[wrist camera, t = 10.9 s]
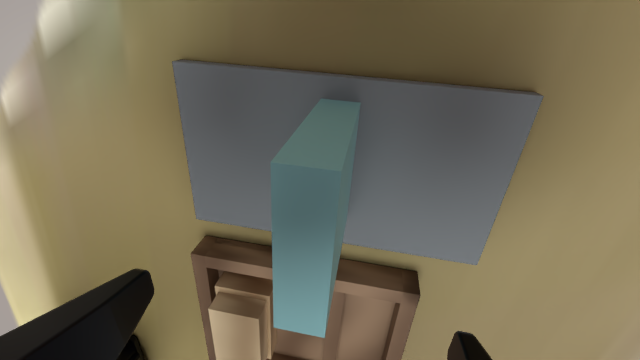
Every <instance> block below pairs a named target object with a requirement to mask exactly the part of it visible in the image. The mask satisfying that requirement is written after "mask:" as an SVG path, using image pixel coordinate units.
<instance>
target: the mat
mask: <svg viewBox="0 0 640 360" xmlns="http://www.w3.org/2000/svg"><path fill="white" fill-rule="evenodd" d="M172 64H173V70H174V77H175V83H176V90H177V96H178V103H179V109H180V116H181V122H182V129H183V135H184V142H185V148H186V155H187V161H188V168H189V174H190V181H191V187H192V194H193V200H194V207H195V213H196V219H199V220H206V221H212V222H218V223H224V224H230V225H236V226H242V227H248V228H254V229H260V230H266V231H272V218H271V165H270V162H271V161H272V160H273V158H274V157H275V156H276V155H277V153H278V152H279V151H280V149H281V148H282V147H283V146H284V144H285V143H286V142H287V141H288V139H289V138H290V137H291V136H292V134H293V133H294V132H295V131H296V129H297V128H298V127H299V126H300V124H301V123H302V122H303V121H304V119H305V118H306V117H307V116H308V114H309V113H310V112H311V111H312V109H313V108H314V107H315V106H316V104H317V103H318V102H319V101H320V99H330V100H340V101H350V102H360V103H361V104H360V113H359V121H358V130H357V138H356V146H355V155H354V163H353V171H352V180H351V188H350V197H349V205H348V213H347V221H346V226H345V231H344V237H343V242H342V243H345V244H351V245H357V246H363V247H369V248H375V249H381V250H387V251H394V252H400V253H406V254H412V255H418V256H424V257H430V258H436V259H442V260H448V261H454V262H460V263H466V264H472V265H477V264H478V261H479V259H480V256H481V254H482V251H483V249H484V246H485V244H486V241H487V238H488V236H489V233H490V231H491V228H492V226H493V223H494V221H495V218H496V216H497V213H498V211H499V208H500V206H501V203H502V200H503V198H504V195H505V193H506V190H507V188H508V185H509V183H510V180H511V178H512V175H513V173H514V170H515V168H516V165H517V162H518V160H519V157H520V155H521V152H522V150H523V147H524V145H525V142H526V140H527V137H528V135H529V132H530V130H531V127H532V124H533V122H534V119H535V117H536V114H537V112H538V109H539V107H540V104H541V102H542V99H543V97H544V96H542V95H540V94H538V93H536V92H525V91H515V90H504V89H493V88H482V87H472V86H461V85H450V84H439V83H428V82H418V81H407V80H396V79H385V78H374V77H364V76H353V75H342V74H331V73H321V72H310V71H299V70H288V69H277V68H267V67H256V66H245V65H234V64H224V63H213V62H202V61H191V60H176V61H172Z"/></svg>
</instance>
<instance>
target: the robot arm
mask: <svg viewBox="0 0 640 360" xmlns="http://www.w3.org/2000/svg"><path fill="white" fill-rule="evenodd" d="M153 295H154V286H153V283H152V279H151V275H150V273H149V271H147V270H142V269H133V270H130V271H128V272H126V273H124V274H123V275H121V276H119V277H117V278H115V279H113V280H111V281H109V282H107V283H105V284H103V285H101V286H99V287H97V288H95V289H93V290H91V291H89V292H87V293H85V294H83V295H81V296H79V297H77V298H75V299H73V300H71V301H69V302H67V303H65V304H63V305H61V306H59V307H57V308H55V309H53V310H51V311H49V312H47V313H45V314H43V315H41V316H39V317H37V318H35V319H33V320H32V321H30V322H28V323H26V324H24V325H22V326H20V327H18V328H16V329H14V330H12V331H10V332H8V333H6V334H4V335H2V336H0V360H144V358H143V355H142V352H141V349H140V346H139V343H138V340H137V338H136V337H135V336H133V335H132V333H133V331H134V330H135V328H136V326H137V324H138V322H139V321H140V319H141V317H142V315H143V314H144V312H145V310H146V308H147V306H148V305H149V303H150V301H151V299H152V297H153ZM447 359H448V360H492V359H491V357H490V356H489V355H488V353H487V352H486V350H485V349H484V348H483V346H482V345H481V344H480V342H479V341H478V340H477V338H476V337H475V336H474V335H473V334H471V333H467V332H462V331H457V332H456V333H455V334H454V337H453V339H452V342H451V344H450V346H449V349H448V355H447Z"/></svg>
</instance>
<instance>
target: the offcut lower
mask: <svg viewBox="0 0 640 360" xmlns="http://www.w3.org/2000/svg"><path fill="white" fill-rule="evenodd" d="M215 292H216V295H217V294H218V292H223V293H228V294H234V295H239V296H244V297H249V298H254V299H259V300H264V301H266V304H267V338H268V356H267V358H268V359H271V358H272V355H273V352H274V349H275V346H276V343H277V328H274V324H273V280H271V279H266V278H260V277H255V276H250V275H244V274H239V273H233V272H228V271H224V272H223V274H222V275H221V277H220V278H219V280H218V281H217V283H216V285H215Z"/></svg>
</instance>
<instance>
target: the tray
mask: <svg viewBox="0 0 640 360" xmlns="http://www.w3.org/2000/svg"><path fill="white" fill-rule="evenodd" d="M191 258H192V264H193V270H194V275H195V281H196V287H197V292H198V298H199V304H200V309H201V315H202V321H203V327H204V332H205V338H206V344H207V349H208V355H209V360H216V355H215V349H214V343H213V336H212V330H211V324H210V317H209V311H208V308H209V307H210V305H211V303H212V302H213V300H214V299H215V297H216V292H215V285H216V283H217V281H218V280H219V278H220V277H221V275H222V274H223V272H224V271H228V272H233V273H239V274H244V275H250V276H255V277H260V278H266V279H271V280H273V271H272V247H270V246H264V245H258V244H252V243H247V242H241V241H235V240H229V239H223V238H217V237H212V236H205V237H204V238H203V239H202V241H201V242H200V243H199V244H198V245H197V247H196V248H195V249H194V250H193V251H192V253H191ZM419 298H420V289H419V281H418V274H417V272H416V271H410V270H404V269H398V268H392V267H386V266H381V265H375V264H369V263H363V262H357V261H351V260H346V259H340V258H339V264H338V269H337V275H336V280H335V285H334V291H333V296H332V302H331V307H330V312H329V318H328V323H327V329H326V334H325V338H322V337H317V336H312V335H307V334H302V333H298V332H293V331H288V330H283V329H278V328H277V343H276V346H275V349H274V352H273V355H272V358H271V359H268V358H267V359H266V360H401V358H402V355H403V352H404V348H405V345H406V342H407V338H408V335H409V332H410V328H411V325H412V322H413V318H414V315H415V312H416V308H417V305H418V301H419Z"/></svg>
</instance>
